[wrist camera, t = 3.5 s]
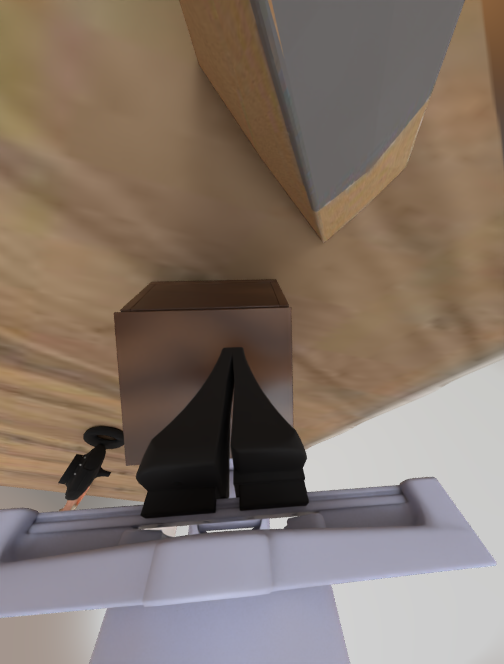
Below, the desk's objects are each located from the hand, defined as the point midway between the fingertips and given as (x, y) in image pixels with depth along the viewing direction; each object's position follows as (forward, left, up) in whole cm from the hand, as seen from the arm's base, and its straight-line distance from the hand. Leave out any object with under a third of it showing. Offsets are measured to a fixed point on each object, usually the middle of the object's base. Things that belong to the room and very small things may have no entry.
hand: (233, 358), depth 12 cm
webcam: (-40, -8, -11) cm, 42 cm away
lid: (-4, -2, -1) cm, 4 cm away
